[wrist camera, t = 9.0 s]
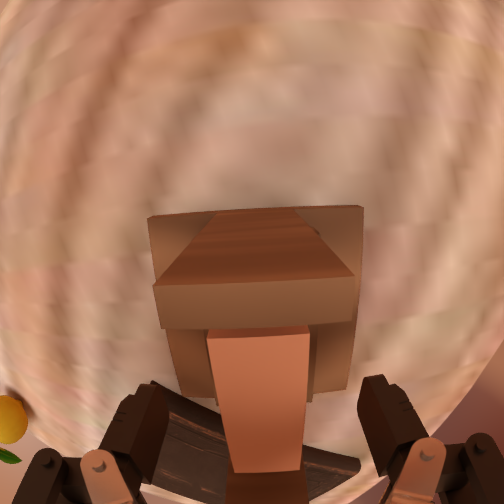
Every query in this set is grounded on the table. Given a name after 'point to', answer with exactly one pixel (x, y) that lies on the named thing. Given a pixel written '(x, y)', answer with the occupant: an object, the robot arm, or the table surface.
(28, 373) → the table surface
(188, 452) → the hardcover book
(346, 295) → the track frame
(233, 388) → the door panel
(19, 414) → the lemon
